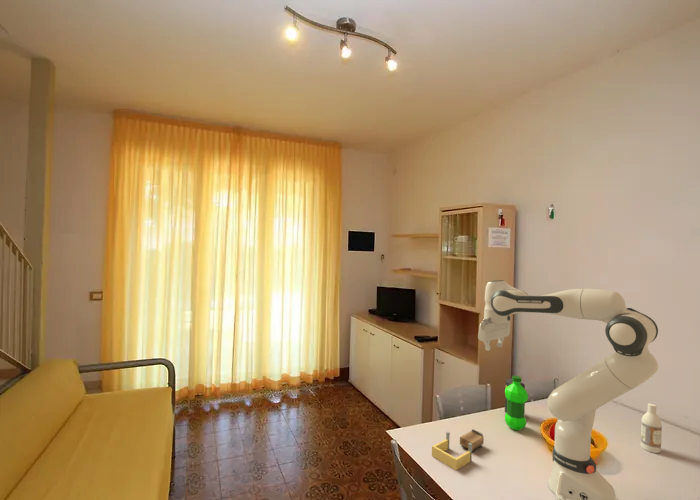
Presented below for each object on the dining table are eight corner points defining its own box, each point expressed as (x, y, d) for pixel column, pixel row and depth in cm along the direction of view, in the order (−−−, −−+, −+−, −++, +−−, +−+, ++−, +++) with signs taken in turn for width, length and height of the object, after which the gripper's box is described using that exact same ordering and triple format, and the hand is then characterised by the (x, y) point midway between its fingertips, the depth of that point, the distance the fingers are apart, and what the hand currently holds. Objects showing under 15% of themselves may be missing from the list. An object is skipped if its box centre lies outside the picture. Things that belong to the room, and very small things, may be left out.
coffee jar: (527, 418, 184) (528, 383, 184) (513, 419, 182) (514, 383, 182) (515, 410, 193) (516, 376, 193) (501, 411, 192) (503, 377, 192)
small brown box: (483, 446, 156) (483, 434, 156) (471, 453, 151) (472, 440, 151) (471, 440, 161) (471, 428, 161) (459, 446, 156) (460, 434, 156)
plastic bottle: (530, 433, 169) (532, 381, 169) (508, 432, 169) (510, 380, 169) (521, 422, 179) (522, 373, 179) (500, 422, 179) (501, 373, 179)
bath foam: (650, 453, 155) (651, 408, 154) (636, 444, 161) (637, 401, 161) (665, 453, 155) (666, 408, 155) (651, 444, 162) (652, 401, 162)
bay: (471, 460, 145) (472, 443, 145) (456, 470, 139) (456, 452, 139) (447, 447, 155) (447, 431, 155) (431, 455, 148) (432, 439, 148)
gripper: (488, 320, 145) (487, 354, 145) (513, 316, 157) (512, 346, 157) (474, 318, 150) (473, 350, 150) (499, 313, 162) (498, 343, 162)
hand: (493, 348), depth 154 cm, fingers open, 8 cm apart
